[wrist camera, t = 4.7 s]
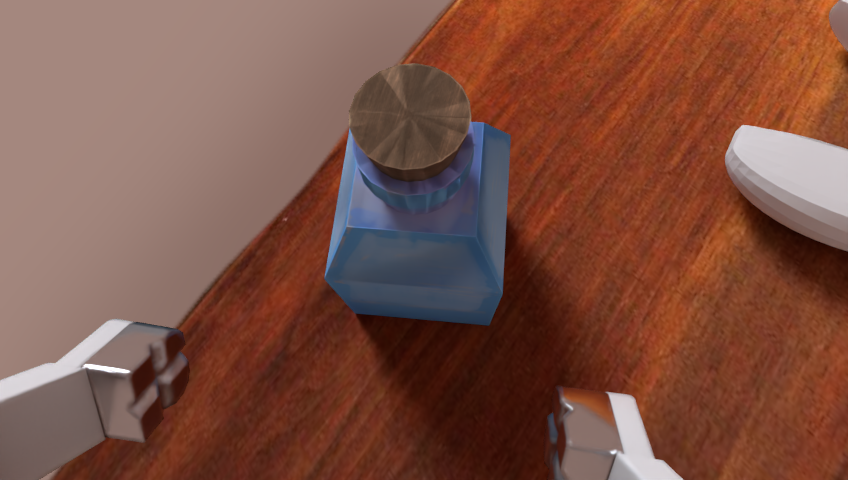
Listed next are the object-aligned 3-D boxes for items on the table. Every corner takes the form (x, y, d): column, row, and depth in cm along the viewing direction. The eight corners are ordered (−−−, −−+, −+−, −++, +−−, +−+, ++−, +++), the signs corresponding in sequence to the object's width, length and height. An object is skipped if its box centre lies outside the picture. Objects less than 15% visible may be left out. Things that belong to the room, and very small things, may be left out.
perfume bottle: (489, 325, 23) (527, 237, 12) (355, 313, 24) (268, 216, 12) (496, 200, 25) (534, 23, 14) (372, 191, 26) (312, 13, 14)
